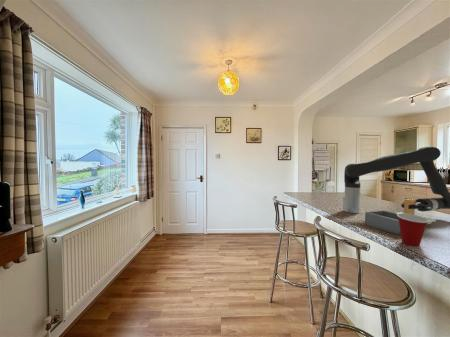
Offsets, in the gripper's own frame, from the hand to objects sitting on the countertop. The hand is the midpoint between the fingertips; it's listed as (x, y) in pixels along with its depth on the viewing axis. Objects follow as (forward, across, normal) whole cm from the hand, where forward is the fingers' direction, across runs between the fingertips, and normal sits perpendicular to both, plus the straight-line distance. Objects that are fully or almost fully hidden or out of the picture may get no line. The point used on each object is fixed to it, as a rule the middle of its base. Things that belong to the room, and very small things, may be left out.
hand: (405, 206), depth 124 cm
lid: (-3, 0, +8) cm, 9 cm away
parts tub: (+17, +4, +10) cm, 20 cm away
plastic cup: (+30, +22, +10) cm, 39 cm away
